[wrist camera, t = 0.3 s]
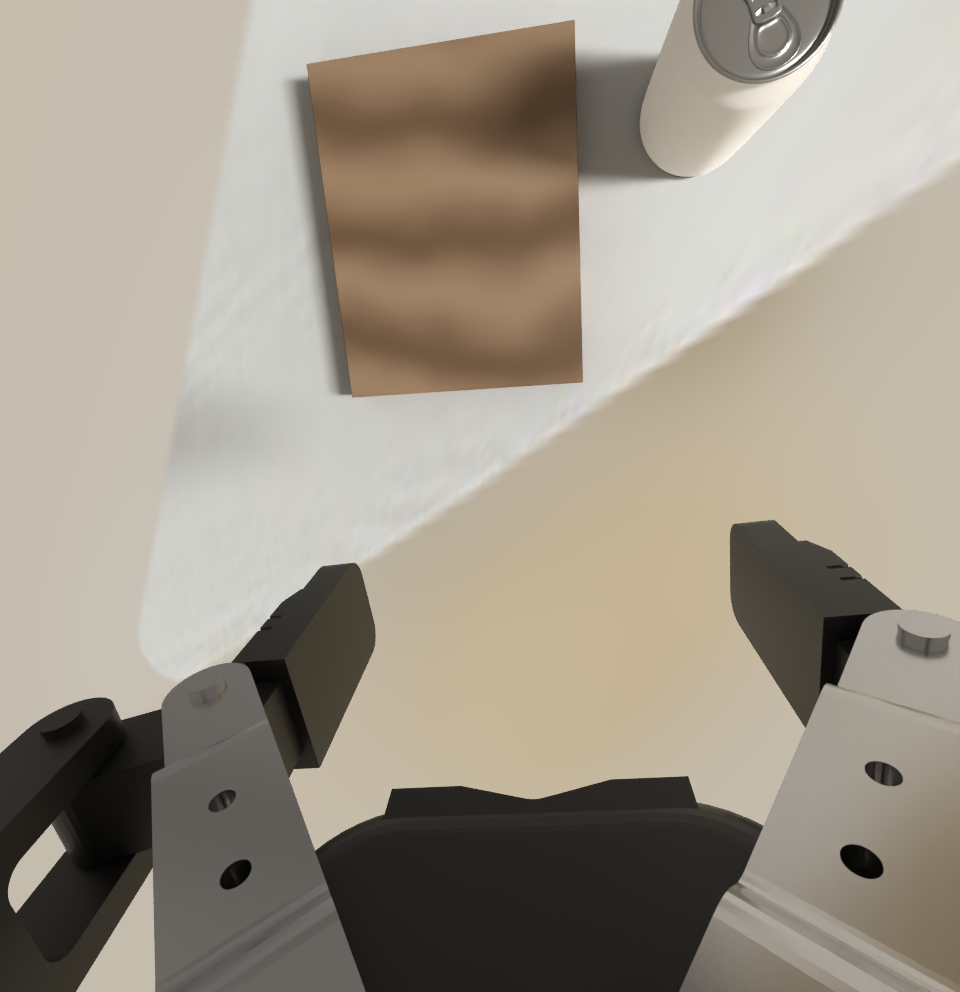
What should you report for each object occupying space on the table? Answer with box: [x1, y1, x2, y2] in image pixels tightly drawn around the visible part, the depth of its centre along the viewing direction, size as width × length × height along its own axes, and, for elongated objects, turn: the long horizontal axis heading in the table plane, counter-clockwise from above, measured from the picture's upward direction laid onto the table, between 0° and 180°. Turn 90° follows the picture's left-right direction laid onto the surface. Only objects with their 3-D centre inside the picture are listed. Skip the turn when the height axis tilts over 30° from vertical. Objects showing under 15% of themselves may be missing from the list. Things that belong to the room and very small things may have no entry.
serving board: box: [307, 20, 583, 397], centre depth 35 cm, size 20×16×2 cm
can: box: [640, 0, 844, 177], centre depth 27 cm, size 6×6×12 cm
